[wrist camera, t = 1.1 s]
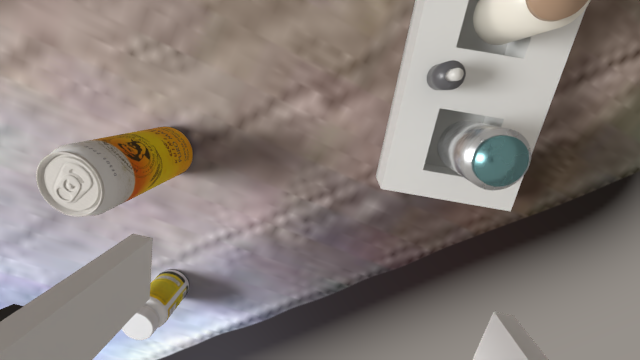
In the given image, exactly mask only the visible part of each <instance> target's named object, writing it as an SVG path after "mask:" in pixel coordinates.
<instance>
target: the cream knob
mask: <svg viewBox="0 0 640 360" xmlns="http://www.w3.org/2000/svg"><path fill="white" fill-rule="evenodd" d="M590 1H591V0H479V1H478V3H477V5H476V7H475V10H474V15H473V24H474V28H475V31H476V33H477V35H478V36H479V37H480V38H481V39H482V40H483V41H484V42H486V43H488V44H492V45H503V44H507V43H510V42H513V41H517V40H520V39H523V38H527V37H530V36H533V35H537V34H540V33H543V32H547V31H550V30H553V29H557V28H560V27H563V26H565V25H567V24H569V23H571V22H572V21H574V20H575V19H576V18H577V17H579V16H580V15H581V14H582V12H583V11H584V10H585V9H586V7H587V6H588V4H589V3H590Z"/></svg>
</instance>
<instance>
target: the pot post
mask: <svg viewBox="0 0 640 360" xmlns="http://www.w3.org/2000/svg"><path fill="white" fill-rule="evenodd" d="M465 76H466V71H465V68H464V66H463V65H462V64H461V63H460V62H458V61H455V60H451V61H447V62H444V63H440V64H437V65H435V66H433V67H432V68H431V69H430V70H429V71H428V74H427V83H428V85H429V87H430V88H432V89H434V90H453V89H456V88H458V87H459V86H460V85H461V84H462V83H463V81H464V79H465Z"/></svg>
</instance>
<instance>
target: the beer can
mask: <svg viewBox="0 0 640 360" xmlns="http://www.w3.org/2000/svg"><path fill="white" fill-rule="evenodd" d="M192 158H193V152H192V147H191V144H190V142H189V141H188V139H187V138H186V137H185V135H184V134H182V133H181V132H180V131H178V130H176V129H174V128H171V127H158V128H153V129H148V130H142V131H137V132H132V133H126V134H121V135H116V136H110V137H105V138H100V139H94V140H89V141H84V142H78V143H73V144H68V145H63V146H61V147H58V148H57V149H55V150H54V151H53V152H52V153H51V154H49V155H47V156H46V157H44V158H43V159H42V160H41V162H40V163H39V165H38V168H37V172H36V180H37V185H38V188H39V190H40V192H41V194H42V196H43V197H44V199H45V200H46V201H47V202H48V203H49V204H50V205H51V206H52V207H53V208H54V209H56V210H57V211H59V212H61V213H63V214H66V215H69V216H75V217H80V216H95V215H99V214H102V213H104V212H106V211H108V210H110V209H112V208H114V207H116V206H118V205H120V204H122V203H124V202H126V201H128V200H130V199H132V198H134V197H136V196H138V195H140V194H142V193H144V192H146V191H148V190H150V189H152V188H154V187H156V186H157V185H159V184H161V183H163V182H165V181H167V180H169V179H171V178H173V177H175V176H177V175H179V174H181V173H183V172H185V171H186V170H187V169H188V168H189V166H190V165H191V162H192Z"/></svg>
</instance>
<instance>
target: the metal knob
mask: <svg viewBox="0 0 640 360" xmlns="http://www.w3.org/2000/svg"><path fill="white" fill-rule="evenodd" d="M437 151H438V155H439V158H440V159H441V161H442V162H443V163H444V164H445V165H446V166H448V167H449V168H451V169H452V170H454V171H455V172H457V173H458V174H460V175H461V176H463V177H464V178H466V179H467V180H469V181H470V182H472V183H473V184H475V185H476V186H478V187H480V188H482V189H486V190H501V189H505V188H508V187H510V186H512V185H513V184H515V183H516V182H518V181H519V180H520V179H521V178H522V177H523V176H524V174H525V173H526V171H527V170H528V167H529V165H530V162H531V148H530V145H529V143H528V141H527V140H526V138H525V137H524V136H523V135H522V134H520V133H519V132H517V131H514V130H512V129H507V128H502V127H498V126H493V125H488V124H483V123H478V122H473V121H467V120H465V121H458V122H455V123H453V124H451V125H450V126H448V127H447V128H446V129H445V130H444V131H443V132H442V134H441V136H440V138H439V140H438V144H437Z"/></svg>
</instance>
